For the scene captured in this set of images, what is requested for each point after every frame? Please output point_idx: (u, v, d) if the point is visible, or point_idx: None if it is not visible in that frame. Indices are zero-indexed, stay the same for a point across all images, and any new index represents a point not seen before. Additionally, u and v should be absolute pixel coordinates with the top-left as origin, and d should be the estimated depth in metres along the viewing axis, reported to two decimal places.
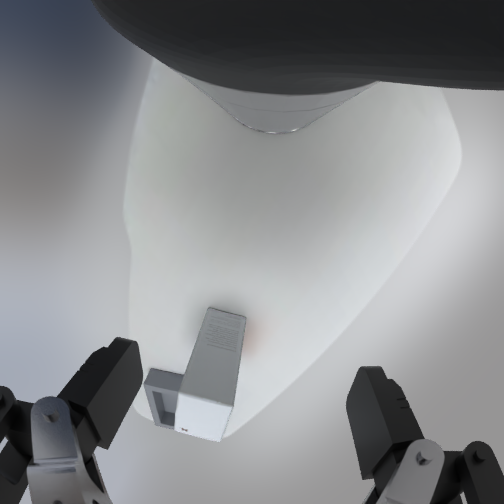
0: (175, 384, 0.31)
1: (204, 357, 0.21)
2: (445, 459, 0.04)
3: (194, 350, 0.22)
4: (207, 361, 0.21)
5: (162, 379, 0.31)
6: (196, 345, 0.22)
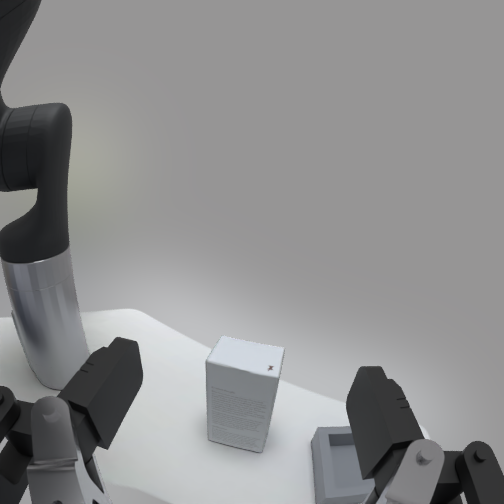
0: (319, 469, 0.20)
1: None
2: (445, 459, 0.04)
3: None
4: None
5: (319, 485, 0.18)
6: None
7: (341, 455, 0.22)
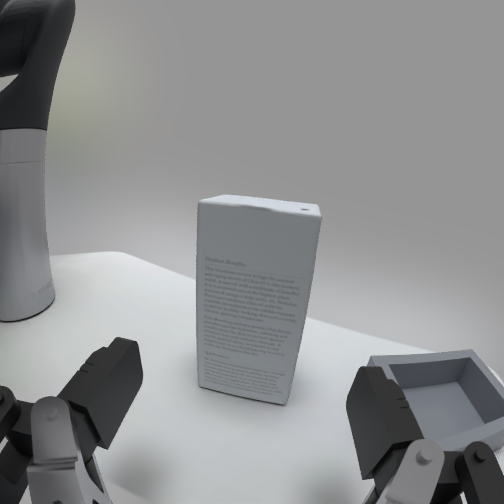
0: None
1: None
2: (445, 459, 0.04)
3: (196, 292, 0.15)
4: None
5: None
6: (196, 303, 0.15)
7: None
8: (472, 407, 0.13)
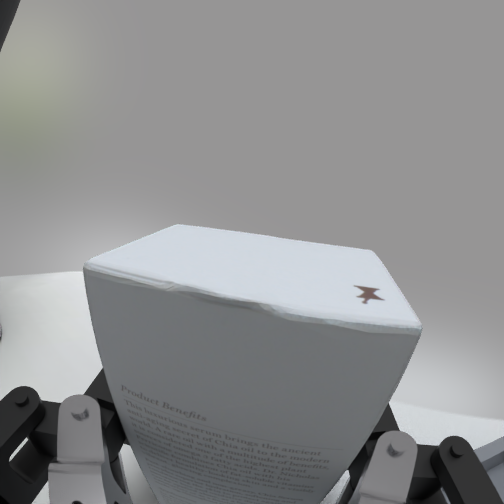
0: None
1: None
2: (420, 453, 0.05)
3: None
4: None
5: None
6: None
7: None
8: None
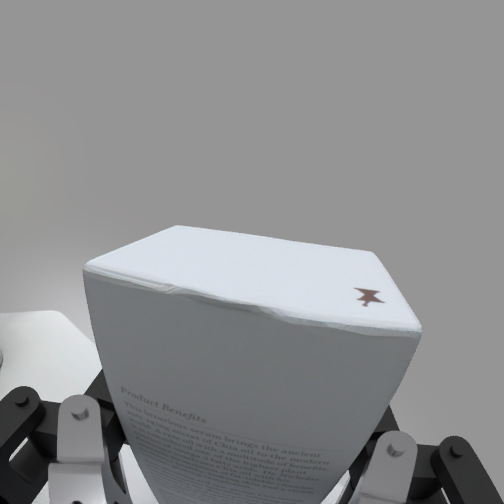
0: None
1: None
2: (420, 453, 0.05)
3: None
4: None
5: None
6: None
7: None
8: None
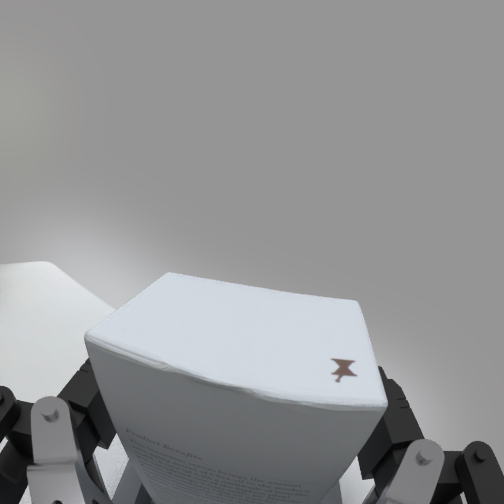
0: None
1: None
2: (445, 459, 0.04)
3: None
4: None
5: None
6: None
7: None
8: None
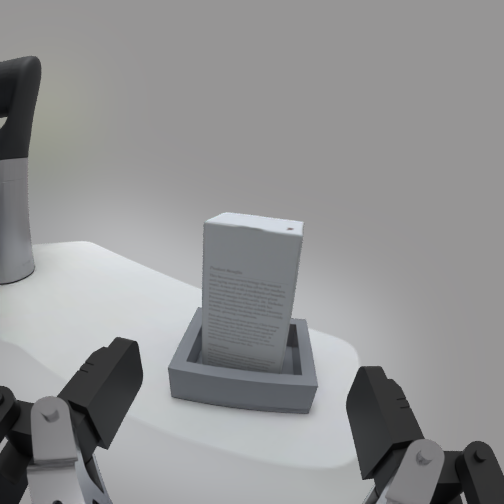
0: None
1: None
2: (445, 459, 0.04)
3: (202, 294, 0.18)
4: None
5: None
6: (202, 303, 0.18)
7: None
8: (290, 368, 0.22)
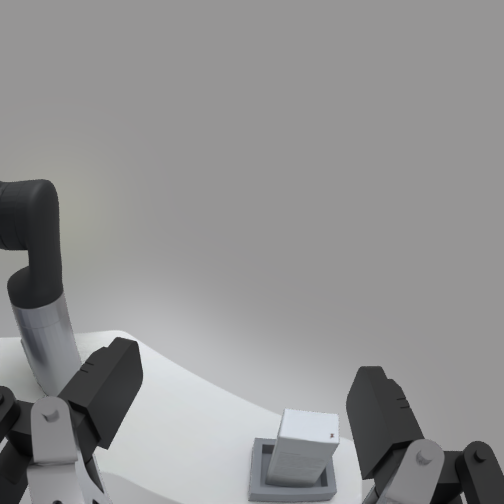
0: (251, 470, 0.26)
1: (274, 450, 0.24)
2: (445, 459, 0.04)
3: (272, 459, 0.23)
4: (275, 446, 0.24)
5: (250, 483, 0.24)
6: (271, 461, 0.23)
7: None
8: None
